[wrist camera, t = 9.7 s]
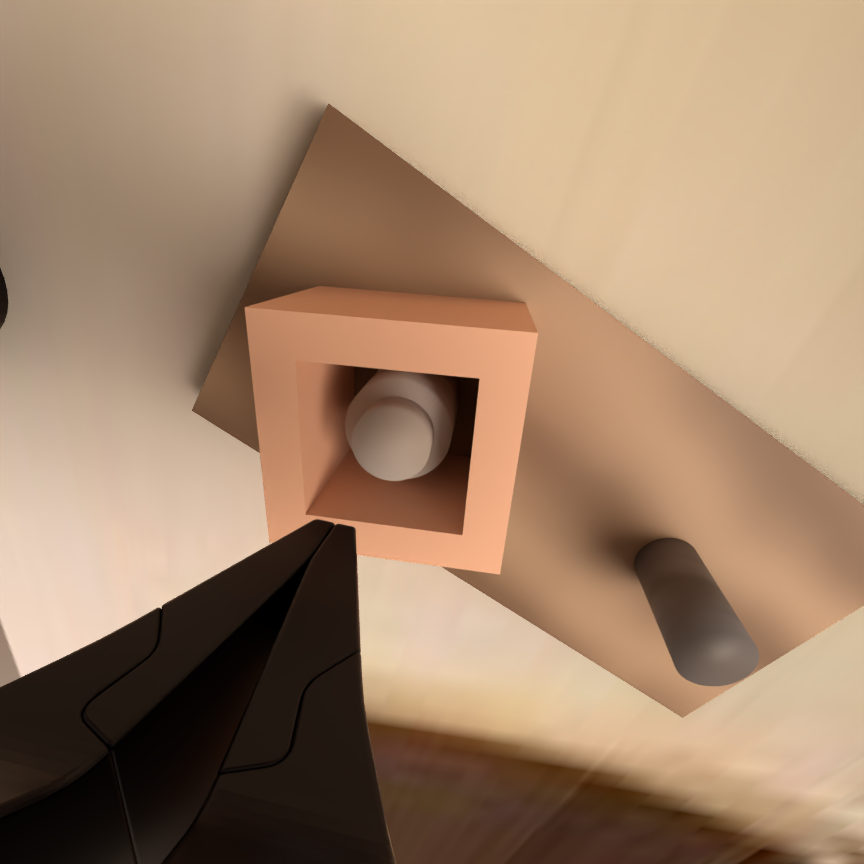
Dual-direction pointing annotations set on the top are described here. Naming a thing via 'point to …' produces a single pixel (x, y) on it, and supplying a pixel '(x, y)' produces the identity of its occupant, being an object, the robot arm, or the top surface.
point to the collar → (334, 391)
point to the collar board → (567, 443)
